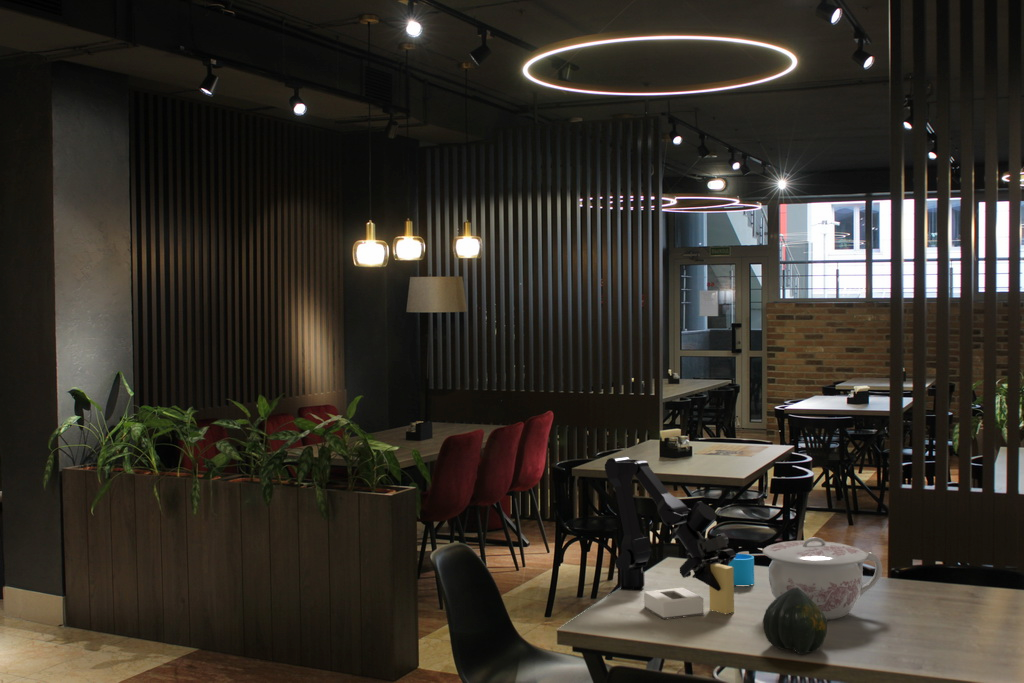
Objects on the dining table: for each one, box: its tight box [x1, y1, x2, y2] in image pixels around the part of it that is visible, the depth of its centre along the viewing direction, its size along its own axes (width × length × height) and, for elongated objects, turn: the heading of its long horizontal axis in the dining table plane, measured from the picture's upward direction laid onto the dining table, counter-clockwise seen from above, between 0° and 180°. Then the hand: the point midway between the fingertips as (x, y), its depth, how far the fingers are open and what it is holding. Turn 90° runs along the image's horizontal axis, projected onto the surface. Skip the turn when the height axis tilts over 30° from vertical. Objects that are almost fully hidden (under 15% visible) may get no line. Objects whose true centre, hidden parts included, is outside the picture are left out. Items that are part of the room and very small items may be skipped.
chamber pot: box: [762, 536, 883, 621], centre depth 272 cm, size 28×28×21 cm
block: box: [708, 563, 735, 615], centre depth 276 cm, size 6×3×12 cm, turn 39°
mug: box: [728, 553, 755, 585], centre depth 306 cm, size 12×8×8 cm
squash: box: [762, 587, 828, 655], centre depth 244 cm, size 14×15×15 cm
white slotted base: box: [643, 587, 705, 620], centre depth 277 cm, size 12×12×4 cm
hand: (725, 588), depth 275 cm, fingers open, 5 cm apart
